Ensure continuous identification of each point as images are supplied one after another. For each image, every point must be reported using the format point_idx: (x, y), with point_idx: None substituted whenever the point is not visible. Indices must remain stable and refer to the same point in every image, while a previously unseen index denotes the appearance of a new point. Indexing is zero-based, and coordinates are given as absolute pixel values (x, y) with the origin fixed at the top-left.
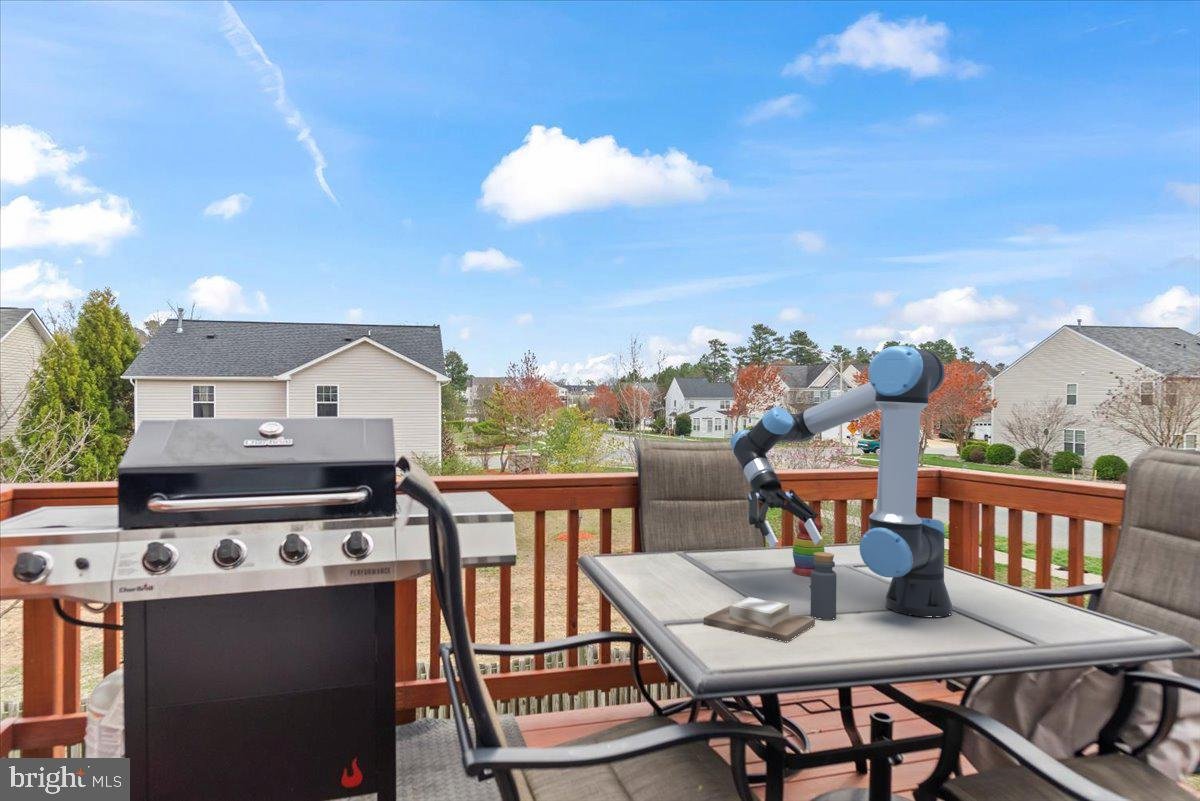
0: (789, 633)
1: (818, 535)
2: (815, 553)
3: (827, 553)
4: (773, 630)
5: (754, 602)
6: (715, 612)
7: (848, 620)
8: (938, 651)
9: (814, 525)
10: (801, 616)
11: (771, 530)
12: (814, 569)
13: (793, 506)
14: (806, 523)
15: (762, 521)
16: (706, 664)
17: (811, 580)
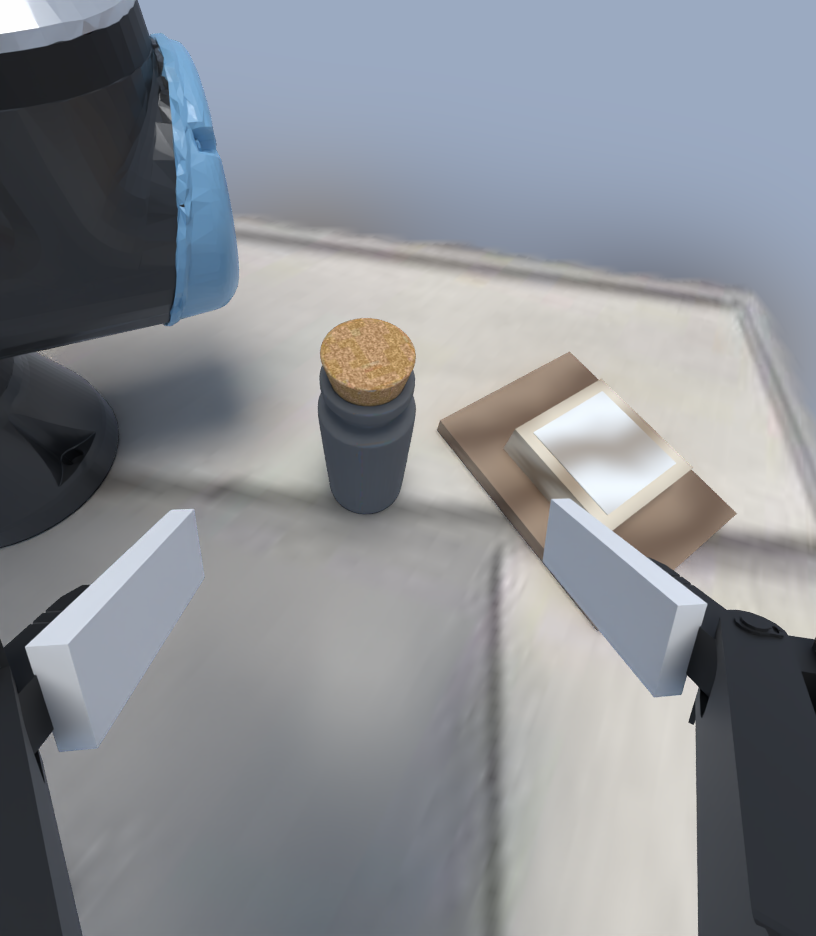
0: (558, 359)
1: (178, 522)
2: (402, 367)
3: (343, 352)
4: (585, 382)
5: (612, 469)
6: (696, 547)
7: (320, 436)
8: (304, 254)
9: (102, 580)
10: (464, 445)
11: (612, 544)
12: (396, 417)
13: (61, 933)
14: (96, 695)
15: (729, 614)
16: (739, 329)
17: (411, 435)
